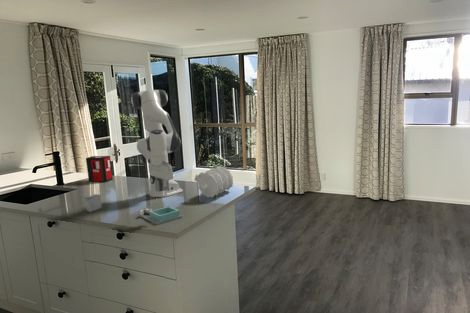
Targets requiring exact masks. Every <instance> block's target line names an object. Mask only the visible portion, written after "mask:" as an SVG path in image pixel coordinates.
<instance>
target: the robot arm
mask: <svg viewBox="0 0 470 313" xmlns="http://www.w3.org/2000/svg"><path fill="white" fill-rule="evenodd" d="M168 100H169V98H168V93H166V90H164V89H147V90H142V91H136V92H134V93H132V94H131V98H130V101H131V105H132V106H133V108H134V109H136V110H141V112H142V120H143V126H144V129H145V131H146V132H147V133H149V136H148V137H144V138H140V139H138V141H137V142H136V150H137V151H138V153H139V154H140V155H142V156H143V157H144V158H145V159H146V161H147V164H148V172H149V182H150V191H149V192H150V193H149V197H152V198H167V197H170V196H171V197H172V196H174V195H176V194H180V193H182V192H183V189H182V188H181V187H180V185H179V183H178V182H177V181H175V180H174V172H173V168H172V167H173V166H172V165H171V164H170V162H169V155H168V154H170V153H173V152H177V151H178V150H179V149H180V148H181V145H182V141H181V138H180V136H179V134H178V132H177V130H176V128H175V125H174V123H173V120H172V118H171V116H170V114H169V113H168V112H167V111H166V110H164V109H163V107H164V106H166V105H167V103H168ZM163 126H164V127H165V128H166V131H167V133H166V131H165V130H164V128H163ZM160 178H161V179H163V183H162V186H163V187H166V186H167V184H166V183H167V180H168V182H169V190H164V191H160V192H159V191H156V189H155V179H160Z"/></svg>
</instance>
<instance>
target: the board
mask: <svg viewBox="0 0 470 313" xmlns="http://www.w3.org/2000/svg"><path fill="white" fill-rule="evenodd" d="M154 210H155V209H154ZM154 210H153V209H152V208H150V209H149V208H143V209H140V210H139V214H138V216H139V217H140V218H142V219H144V220H145V221H146V220H147V221H148V222H150V223H152V224H154V225H156V226H159V225H161V224H165V223H168V222H173V221H174V220H178V219H181V218H183V217H182V215H181V214H180V216H177V217H174V218H170V219H167V220H163V221H158V220H156V219H154V218H152V217H150V215H144V211H145V212H147V213H148V212H149V213H150V211H154ZM168 213H170V212H168ZM164 214H166V213H164ZM161 215H163V214H161Z"/></svg>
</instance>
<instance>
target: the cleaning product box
mask: <svg viewBox="0 0 470 313" xmlns="http://www.w3.org/2000/svg"><path fill="white" fill-rule="evenodd" d="M111 160H112V159H111V156H110V155H94V156H93V155H92V156H88V157H86V158H85V163H86V169H87V178H88V183H108V182H110V181H113V178H114V177H113V170H112V169H113V168H112V163H111V162H112V161H111Z"/></svg>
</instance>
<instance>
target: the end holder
mask: <svg viewBox="0 0 470 313" xmlns="http://www.w3.org/2000/svg"><path fill="white" fill-rule="evenodd" d="M149 211H150V210H149ZM168 212H170V213H168ZM164 213H166V214H164ZM161 214H163V215H161ZM180 215H181V213H180V209H177V208H175V207H172V206H170V205H168V206H166V207H162V208H157V209H154V211H153V210H152V211H150V217H152V218H154V219H156V220H158V221H163V220H167V219H170V218H174V217H177V216H180Z"/></svg>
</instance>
